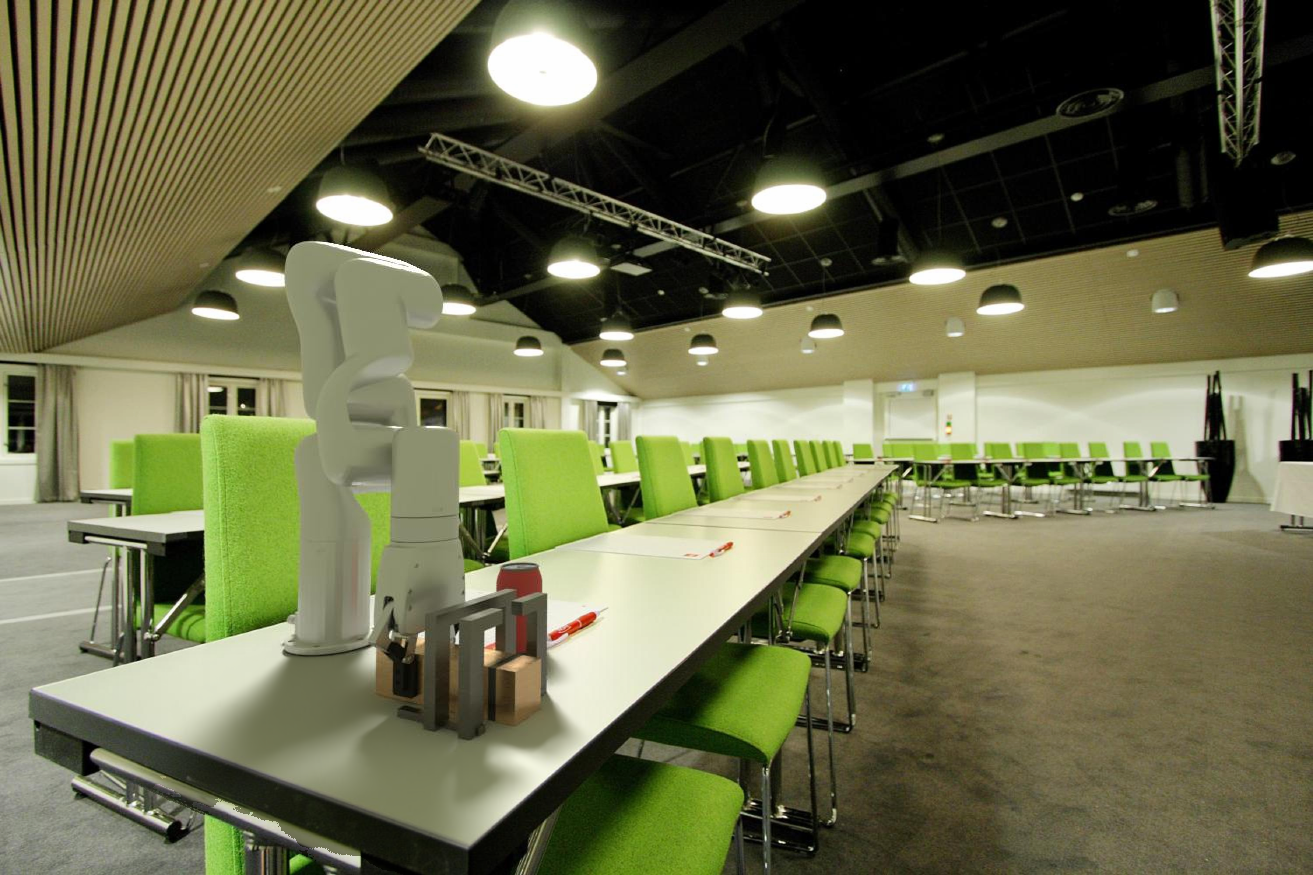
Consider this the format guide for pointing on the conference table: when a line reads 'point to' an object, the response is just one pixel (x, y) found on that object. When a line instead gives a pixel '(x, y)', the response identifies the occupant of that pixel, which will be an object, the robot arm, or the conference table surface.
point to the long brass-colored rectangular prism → (505, 682)
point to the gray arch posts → (474, 656)
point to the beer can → (520, 591)
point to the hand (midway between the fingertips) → (422, 685)
